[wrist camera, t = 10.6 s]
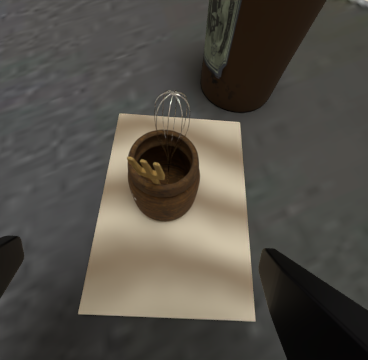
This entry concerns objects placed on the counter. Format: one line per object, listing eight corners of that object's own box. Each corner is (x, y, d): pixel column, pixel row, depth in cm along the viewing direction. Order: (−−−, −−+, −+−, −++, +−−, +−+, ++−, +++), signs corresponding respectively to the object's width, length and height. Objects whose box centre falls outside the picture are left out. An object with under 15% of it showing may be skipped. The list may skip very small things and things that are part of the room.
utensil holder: (200, 173, 24) (226, 77, 13) (187, 233, 21) (207, 176, 10) (144, 161, 24) (123, 56, 13) (125, 219, 21) (78, 148, 10)
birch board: (251, 319, 19) (255, 321, 18) (82, 312, 19) (78, 314, 18) (237, 127, 28) (239, 122, 27) (121, 119, 27) (119, 113, 26)
